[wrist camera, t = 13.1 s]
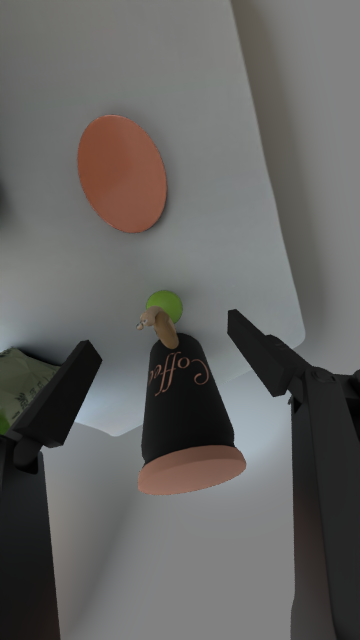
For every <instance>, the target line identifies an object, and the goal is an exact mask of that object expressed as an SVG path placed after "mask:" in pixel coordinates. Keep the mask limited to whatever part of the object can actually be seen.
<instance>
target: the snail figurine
mask: <svg viewBox="0 0 360 640" xmlns="http://www.w3.org/2000/svg"><path fill="white" fill-rule="evenodd" d="M182 310H183V308H182V303H181V300H180V299H179V297H178V296H177V295H176V294H174V293H173V292H170V291H166V290H163V291H158V292H156V293H154V294H153V295H152V296H151V297H150V298H149V299H148V302H147V305H146V311H145V312H144V313H143V314H142V315H141V322H142V323H143V324H144V325H145V326H152V325H154V329H155V331H156V333H157V336H158V337H159V339H160V340H161V342H162V343H163V344H164V345H165V346H166V347H168V348H170V349H174V348H176V347H177V346H178V343H179V341H178V337H177V334H176V329H175V326H174V324H175V323H176V322H177V321H178V320H179V319H180V317H181V315H182ZM141 322H140V323H139V324H138V325H137V329H138V330H142V329H143V324H141Z"/></svg>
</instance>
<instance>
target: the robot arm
mask: <svg viewBox="0 0 360 640" xmlns="http://www.w3.org/2000/svg"><path fill="white" fill-rule="evenodd" d="M227 334H228V335H229V337H230V338H231V339H232V341H233V342H234V343H235V345H236V346H237V348H238V349H239V350H240V352H241V353H242V355H243V356H244V357H245V359H246V360H247V362H248V363H249V364H250V366H251V367H252V369H253V370H254V371H255V373H256V374H257V376H258V377H259V378H260V380H261V381H262V382H263V384H264V385H265V387H266V388H267V389H268V391H269V392H270V394H271V395H272V396H273V397H276V396H281V395H285V393H286V391H287V389H288V390H289V391H290V393H291V394H292V395H291V397H290V399H289V401H288V404H289V405H290V404H291V421H292V469H293V515H294V561H295V596H294V601H293V605H292V610H291V640H360V370H357V371H356V372H355V373H354V374H353V375H340V374H332V373H331V372H329V371H327V370H325V369H323V368H320V367H314V366H312V365H310V364H309V363H308V362H306V361H305V360H304V359H303V358H302V357H300V356H299V355H298V354H297V353H296V352H294V351H293V350H292V349H291V348H289V346H287V345H286V344H284V342H283V341H281V340H280V339H279V338H277V337H275V336H273V335H271V334H270V335H264V334H263V333H262V332H261V331H260V330H259V329H257V328H256V327H255V326H254V325H253V324H252V323H251V322H250V321H249V320H248V319H247V318H245V317H244V316H243V315H242V314H241V313H240V312H239V311H238V310H237V309H233V310H229V311H228V329H227ZM102 361H103V360H102V358H101V357H100V355H99V354H98V353H97V351H96V350H95V348H94V347H93V345H92V344H91V342H90V341H89V340H85V341H80V343H79V344H78V345H77V346H76V348H75V349H74V350H73V352H72V353H71V354H70V355H69V357H68V358H67V359H66V361H65V362H64V363H63V365H62V366H61V367H60V368H59V370H58V371H57V372H56V374H55V375H54V376H53V377H52V379H51V380H50V381H49V383H47V384H46V385H45V386H44V387H43V388H41V389H40V390H39V391H38V393H37V394H36V395H35V397H34V398H33V400H31V402H30V403H29V404H28V407H26V408H25V409H24V410H23V412H22V413H21V414H20V415H19V417H18V418H17V419H16V420H15V422H14V423H13V424H12V426H11V427H10V428H9V429H8V431H7V432H6V433H5V434H4V435H1V434H0V640H60V629H59V619H58V608H57V598H56V587H55V577H54V567H53V556H52V545H51V534H50V525H49V515H48V503H47V494H46V483H45V471H44V461H43V454H42V452H41V451H40V449H41V447H42V446H43V445H44V446H46V447H48V448H53V447H58V446H62V445H63V444H64V442H65V440H66V438H67V435H68V433H69V431H70V429H71V427H72V425H73V423H74V420H75V418H76V416H77V414H78V412H79V410H80V408H81V406H82V403H83V401H84V399H85V397H86V395H87V393H88V391H89V388H90V386H91V384H92V382H93V380H94V378H95V376H96V374H97V371H98V369H99V367H100V365H101V363H102Z"/></svg>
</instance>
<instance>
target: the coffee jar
mask: <svg viewBox="0 0 360 640" xmlns="http://www.w3.org/2000/svg"><path fill="white" fill-rule="evenodd" d="M176 334H177V337H178V341H179V343H178V346H177V347H176V348H174V349H170V348H168V347H166V346H165V345H164V344H163V343H162V342H161V340H160V339H159V340H158V341H157V342H156V343H155V344H154V346H153V348H152V350H151V352H150V362H149V372H148V382H147V392H146V403H145V413H144V423H143V434H142V444H141V447H142V457H143V458H144V460H145V464H144V466H143V467H142V470H141V471H140V473H139V479H138V488H139V491H141V492H143V493H145V494H152V495H171V494H180V493H186V492H191V491H196V490H200V489H204V488H208V487H212V486H215V485H218V484H221V483H223V482H225V481H228V480H231V479H232V478H234V477H236V476H238V475H239V474H241V473H242V472H243V471H244V470H245V468H246V461H245V459H244V457H243V455H242V453H241V452H240V451H239V450H238V449H237V448H236V447H235V445H234V430H233V427H232V424H231V422H230V419H229V417H228V414H227V411H226V409H225V406H224V404H223V401H222V399H221V396H220V394H219V391H218V388H217V386H216V383H215V380H214V378H213V375H212V373H211V370H210V367H209V365H208V362H207V360H206V357H205V354H204V352H203V349H202V347H201V345H200V343H199V342H198V341H197V340H196V339H195V338H193V337H192V336H190V335H186V334H183V333H176Z"/></svg>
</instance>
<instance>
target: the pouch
mask: <svg viewBox="0 0 360 640" xmlns="http://www.w3.org/2000/svg"><path fill="white" fill-rule="evenodd" d="M59 368H60V366H54V365H50V364H47V363H44V362H42V361H39V360H36V359H33V358H30V357H28V356H26V355H25V354H23V353H22V352H21V351H20V350H18V349H16V348H14V347H11V348H9V349H7V350H4V351H3V352H1V353H0V434H1V435H4V434H5V433H6V432H7V431H8V429H9V428H10V427H11V426H12V424H13V423H14V422H15V420H16V419H17V418H18V417H19V415H20V414H21V413H22V412H23V410H24V409H25V408H26V407H28V404H29V403H30V402H31V400H33V398H34V397H35V395H36V394H37V393H38V391H39V390H40V389H41V388H43V387H44V386H45V385H46V384H47V383H49V381H50V380H51V379H52V377H53V376H54V375H55V374H56V372H57V371H58V370H59Z"/></svg>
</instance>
